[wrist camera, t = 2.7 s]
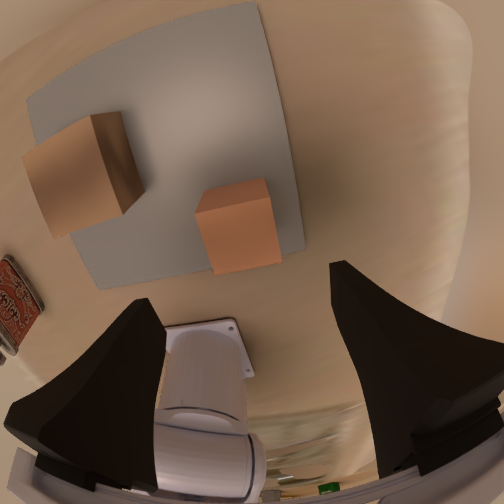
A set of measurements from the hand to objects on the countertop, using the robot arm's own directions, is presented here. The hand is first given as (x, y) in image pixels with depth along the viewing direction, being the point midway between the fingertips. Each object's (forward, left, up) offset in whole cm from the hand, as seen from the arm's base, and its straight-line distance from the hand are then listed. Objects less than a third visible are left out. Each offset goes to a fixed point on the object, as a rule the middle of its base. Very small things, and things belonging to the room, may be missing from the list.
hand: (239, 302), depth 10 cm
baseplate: (+5, +5, -10) cm, 12 cm away
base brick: (+6, +9, -9) cm, 14 cm away
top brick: (0, 0, -9) cm, 9 cm away
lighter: (-2, +26, -10) cm, 28 cm away
